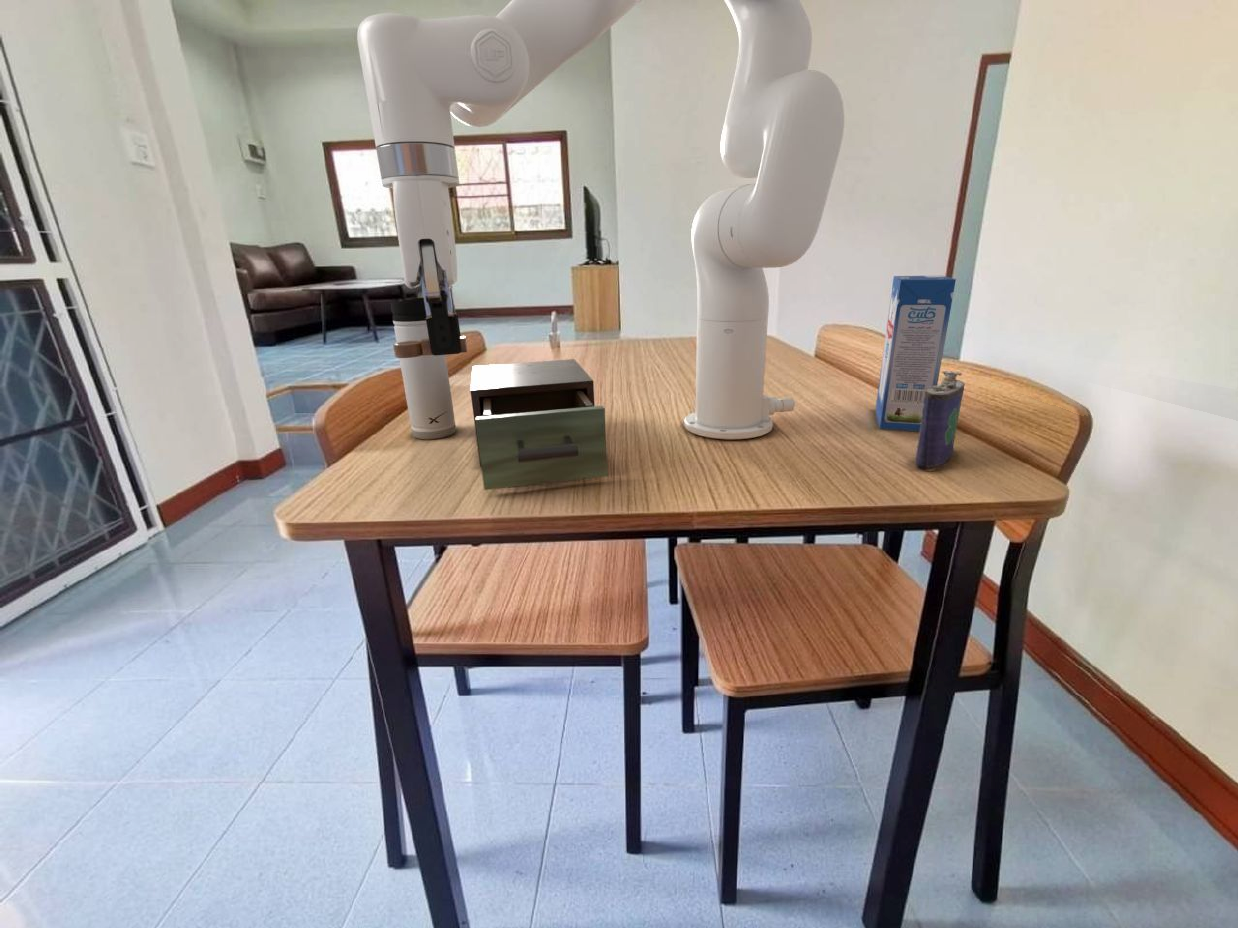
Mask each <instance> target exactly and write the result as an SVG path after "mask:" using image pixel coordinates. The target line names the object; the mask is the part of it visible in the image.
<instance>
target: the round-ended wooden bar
mask: <svg viewBox="0 0 1238 928" xmlns="http://www.w3.org/2000/svg"><path fill="white" fill-rule="evenodd" d="M467 343H468V342H467V337H466V335H461V336H460V344H461V352H460V353H459V354H462V353H468V351H469V350H468V344H467ZM392 347H393V351H394V357H395V358H397V359H399V358H412V357H418V356H422V355H423V356H425V355H433V354H432V353H431V348H430V342H429V339H422V340H421V342H420V341H406V342H399V343H397V342H395V343H393V344H392Z"/></svg>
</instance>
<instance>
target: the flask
mask: <svg viewBox="0 0 1238 928" xmlns="http://www.w3.org/2000/svg"><path fill="white" fill-rule="evenodd" d="M941 374H943V375H944V378H943V379H942V380H941V382H940V384H939V385H937V386H933V388H932V389H928V390H927V391H926V392H925V397H924V407H923V412H922V419H921V427H920V431H918V442H917V446H916V453H915V462H914V465H913V466H914V467H915V468H916V469H917V470H921V471H925V472H932V471H937V470H939V469H942V468H943V467H945V466H947V464H948V463H949V462H950V460H951V458H952V456H953V452H954V446H955V439H956V434H957V428H958V421H959V416H960V412H961V411H960V410H961V407H962V400H963V395H964V391H965V383H964V381H962V380H960V379H957V377H958V376H960V377H961V376H963V373H962V372H959V371H954V372H953V371H951V370H950V371H947V370H942V371H941Z"/></svg>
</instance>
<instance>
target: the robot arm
mask: <svg viewBox="0 0 1238 928" xmlns="http://www.w3.org/2000/svg"><path fill="white" fill-rule="evenodd" d="M641 1H642V0H510V1H509V2H508V3H507V4H506V6H504V7H503V9H502V10H501V11H499V12H498V13H497V14H496V15H495V16H492V15H488V14H468V15H459V16H450V17H439V18H420V17H417V16H414V15H412V14H411V15H410V14H406V13H401V12H400V13H399V12H381V13H375V14H372V15H369V16H367V17H365V18H364V19H363V20H361V22H360V23H359V26H358V27H357V32H356V39H357V41H356V42H357V47H358V49H357V50H358V54H359V59H360V65H361V70H362V77H363V82H364V87H365V93H366V98H367V104H368V110H369V116H370V120H371V126H372V134H373V138H374V144H375V149H376V155H377V161H378V166H379V172H380V173H379V174H380V178H381V183H382V187H383V188H386V189H388V188H389V189H392V198H393V209H394V215H395V216H394V217H395V225H396V232H397V239H398V246H399V253H400V260H401V267H402V275H403V282H404V285H405V286H406V288H408V289H410V290H413V289H414V290H415V289H416V288H418V287H420V286H421V292H422V296H423V297H424V303H425V309H426V315H427V318H426V323H427V330H428V336H429V342H430V348H431V353H432V354H433V355H435V356H437V355H445V356H448V355H458V354H461V353H460V352H461V344H460V336H462V335H461V334H462V333H461V327H460V322H459V314H458V313H457V312H456V306H455V299H454V291H453V285H454V284H456V283H457V281H458V261H457V248H456V237H455V230H454V221H453V214H452V206H451V198H450V191H449V189H451V188H457V187H460V177H459V169H458V162H457V161H458V160H457V155H456V145H455V139H454V132H453V131H454V130H453V124H452V116H453V117H454V118H455V119H457V120H458V121H459V122H461V123H463V124H464V125H467V126H470V127H473V128H482V127H483V128H484V127H488V126H490V125H494V123H496V122H497V121H499V120H500V119H501V118H502V117H504V116H505V115H506V114H507V113H508V112H509V111H510V110H511V109H512V108H514V107H515V106H516V105H517V104H518V103H519V102H521V101H522V100H523V99H524V98H525V97H526V96H527V95H528V94H530V93H531V92H533V90H534V89H536V87H538V86H539V85H540V84H541V83H543V81H544V80H546V79H547V78H548V77H549V76H550V75H552V74H553V73H554V72H555V71H557V70H558V69H559V68H560V67H561V66H562V65H564V64H565V63H566V62H568V61H569V60H570V59H572V58H573V57H574V56H576V55H577V54H579V53H580V52H582V51H583V50H585V49H586V48H588V47H589V46H590V45H591V44H593V43H594V42H595V41H597V40H598V39H599V38H600V37H601V36H602V35H603V34H604V33H606V32H607V31H608V30H609V29H610V28H611V27H612V26H614V25H615V24H616V23H617V22H618V21H619V20H620V19H622V17H624V16H625V15H627V14H628V13H629V12H630V11H631V10H632V9H633V8H634V7H635V6H636V5H637V4H638V3H640V2H641ZM723 1H724V2H725V4H726V6H727V7H728V9H729V11H730V13H731V15H732V17H733V20H734V23H735V25H736V28H737V29H736V30H737V34H738V54H737V60H736V66H735V72H734V76H733V81H732V86H731V89H730V95H729V98H728V103H727V107H726V113H725V118H724V121H723V127H722V131H721V136H720V157H721V161H722V163H723V165H724V167H725V168H726V170H727V171H728V172H730V173H731V174H732V175H733V176H736V177H737V178H738V177H739V178H743V179H755V178H756V183H748V184H741V185H737V186H733V187H728V188H724V189H722V190H719V191H717V192H715V193H713V194H712V195H710V196H709V197H708V198H706V199H705V200H704V201H703V202H702V203H701V205H700V206H699V208H698V210H697V211H696V213H695V216H694V218H693V222H692V226H691V227H692V228H691V247H692V253H693V254H692V255H693V261H694V268H695V276H696V291H697V292H696V293H697V294H696V296H697V297H696V298H697V299H696V302H697V303H696V304H697V305H696V306H697V307H696V308H697V309H696V350H695V351H696V352H695V355H696V356H695V357H696V358H695V359H696V360H695V411H694V412H691V413H689V414H688V415H687V416H686V417H685V418H684V428H685V429H686V430H687V431H688V432H690V433H691V434H694V435H696V436H700V437H704V438H708V439H709V438H710V439H716V440H717V439H718V440H747V439H754V438H757V437H761V436H762V437H763V436H765V435H767V434H768V433H770V432H771V431H772V430H773V425H774V421H773V419H772V418H771V417H770V416H774V414H775V413H788V412H793V411H794V410H795V407H796V406H795V401H794V399H793V398H792V397H788V398H779V399H778V397H777V396H770V397H769V396H768V395H766V394H764V389H765V371H766V357H767V342H768V341H767V340H768V338H767V337H768V324H769V323H768V321H769V311H770V310H769V309H770V307H769V306H770V298H769V297H770V296H769V288H768V283H767V279H766V276H765V271H764V269H769V268H770V269H771V268H784V267H787V266H790V265H792V264H795V262H798V261H799V260H801V258H802V257H803V256H804V255H805V254H806V253H808V252H807V251H808V250H809V249H810V247H811V245H812V244H813V242H814V240H815V238H816V236H817V234H818V230H819V228H820V225H821V221H822V219H823V218H822V217H823V214H824V211H825V207H826V203H827V200H828V196H829V192H830V188H831V184H832V181H833V178H834V174H835V169H836V165H837V162H838V158H839V154H840V151H841V150H840V149H841V146H842V143H843V138H844V133H845V107H844V102H843V98H842V94H841V92H840V90H839V88H838V86H837V84H836V83H835V81H834V80H833V79H832V78H831V77H830V76H828V75H827V74H825V73H824V72H821V71H819V70H814V69H809V64H810V59H811V53H812V44H813V34H812V27H811V23H810V21H809V18H808V15H807V13H806V10H805V8H804V6H803V5H802V2H801V0H723ZM451 115H452V116H451Z"/></svg>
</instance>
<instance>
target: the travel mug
mask: <svg viewBox="0 0 1238 928" xmlns="http://www.w3.org/2000/svg"><path fill="white" fill-rule="evenodd" d="M390 309H391V313H392V323H393V325H394V326H393V329H394V335H395V341H396V342H395V343H399V342H406V341H420V342H421V340H422V339H429V336H428V330H427V323H426V318H427V315H426V309H425V303H424V297H415V298H410V299H404V300H398V301H392V302H390ZM446 356H447V355H437V356H435V355H425V356H423V355H422V356H418V357H412V358H398V359H399V364H400V370H401V376H402V382H403V387H404V388H403V389H404V392H405V393H404V395H405V399H406V406H407V410H408V417H409V423H410V425H411V427H410V429H411V435H412V437H414V438H415V439H418V440H437V439H443V438H447V437H449V436H452V435H453V434H455V433H456V431H457V428H456V427H457V426H456V421H455V413H454V406H453V397H452V392H451V391H452V390H451V385H450V378H449V370H448V362H447V357H446Z"/></svg>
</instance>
